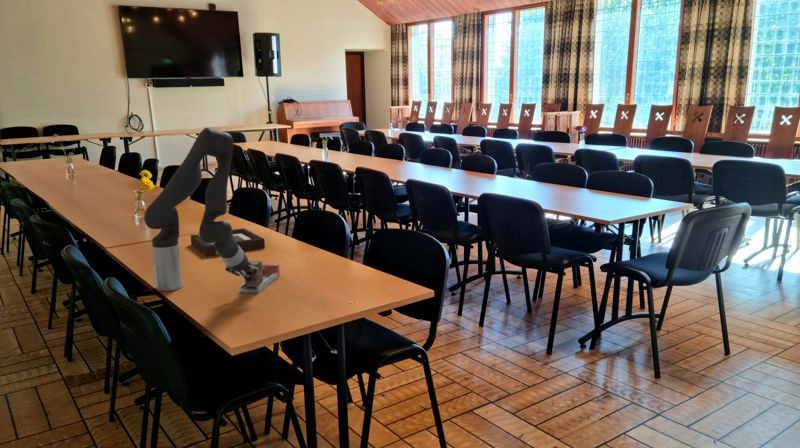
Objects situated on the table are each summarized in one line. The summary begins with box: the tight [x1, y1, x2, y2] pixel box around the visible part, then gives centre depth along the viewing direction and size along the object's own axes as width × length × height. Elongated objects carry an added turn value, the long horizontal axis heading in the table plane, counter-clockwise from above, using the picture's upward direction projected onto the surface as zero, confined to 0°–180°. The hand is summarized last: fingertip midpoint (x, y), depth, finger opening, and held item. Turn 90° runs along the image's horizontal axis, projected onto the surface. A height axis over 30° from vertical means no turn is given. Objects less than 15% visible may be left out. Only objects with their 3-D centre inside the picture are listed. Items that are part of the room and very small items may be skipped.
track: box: [239, 263, 281, 294], centre depth 239 cm, size 22×8×5 cm, turn 170°
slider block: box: [244, 259, 263, 287], centre depth 233 cm, size 5×5×9 cm
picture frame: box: [190, 228, 266, 258], centre depth 299 cm, size 28×7×30 cm
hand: (249, 279), depth 230 cm, fingers closed
